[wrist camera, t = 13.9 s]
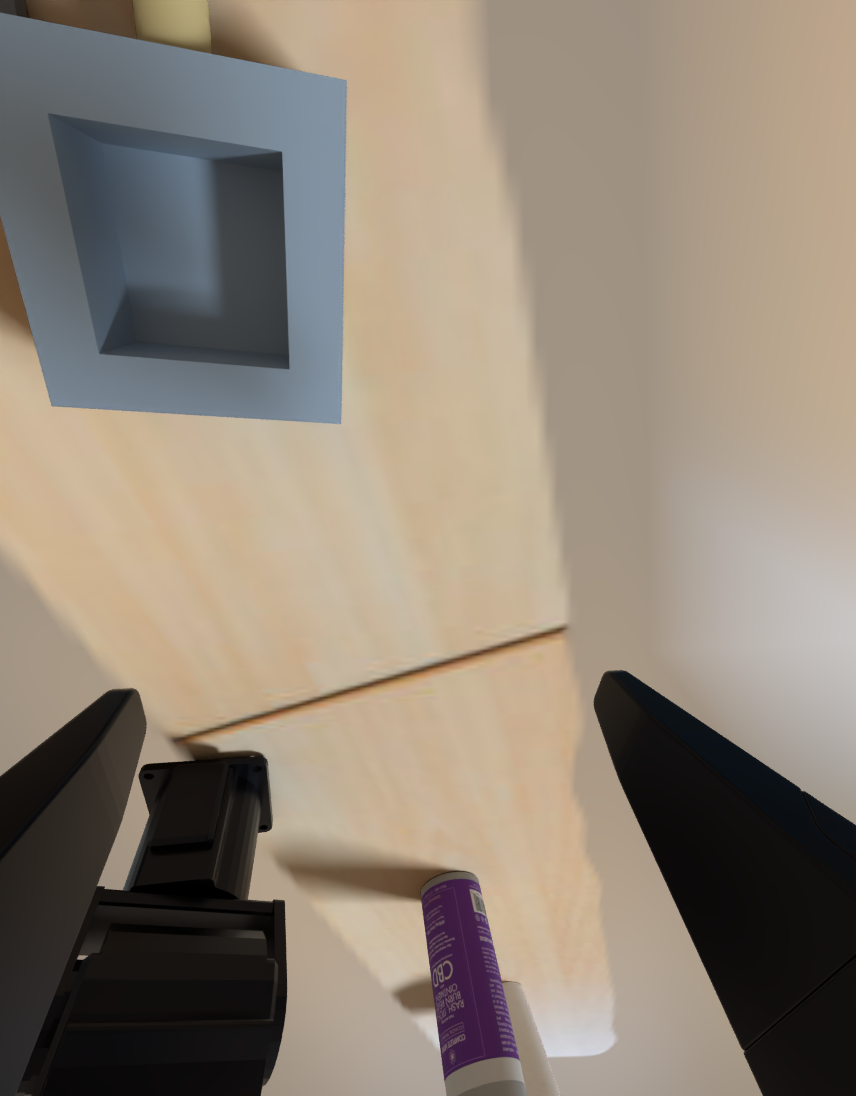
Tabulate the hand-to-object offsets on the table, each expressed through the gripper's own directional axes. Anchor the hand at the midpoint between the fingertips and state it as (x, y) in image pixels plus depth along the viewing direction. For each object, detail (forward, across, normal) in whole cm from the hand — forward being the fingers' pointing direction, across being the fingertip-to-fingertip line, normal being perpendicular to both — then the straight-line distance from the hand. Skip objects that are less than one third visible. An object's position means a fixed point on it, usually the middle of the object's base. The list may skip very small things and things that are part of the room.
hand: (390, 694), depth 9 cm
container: (+12, -8, +34) cm, 37 cm away
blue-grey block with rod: (+12, +5, -11) cm, 17 cm away
